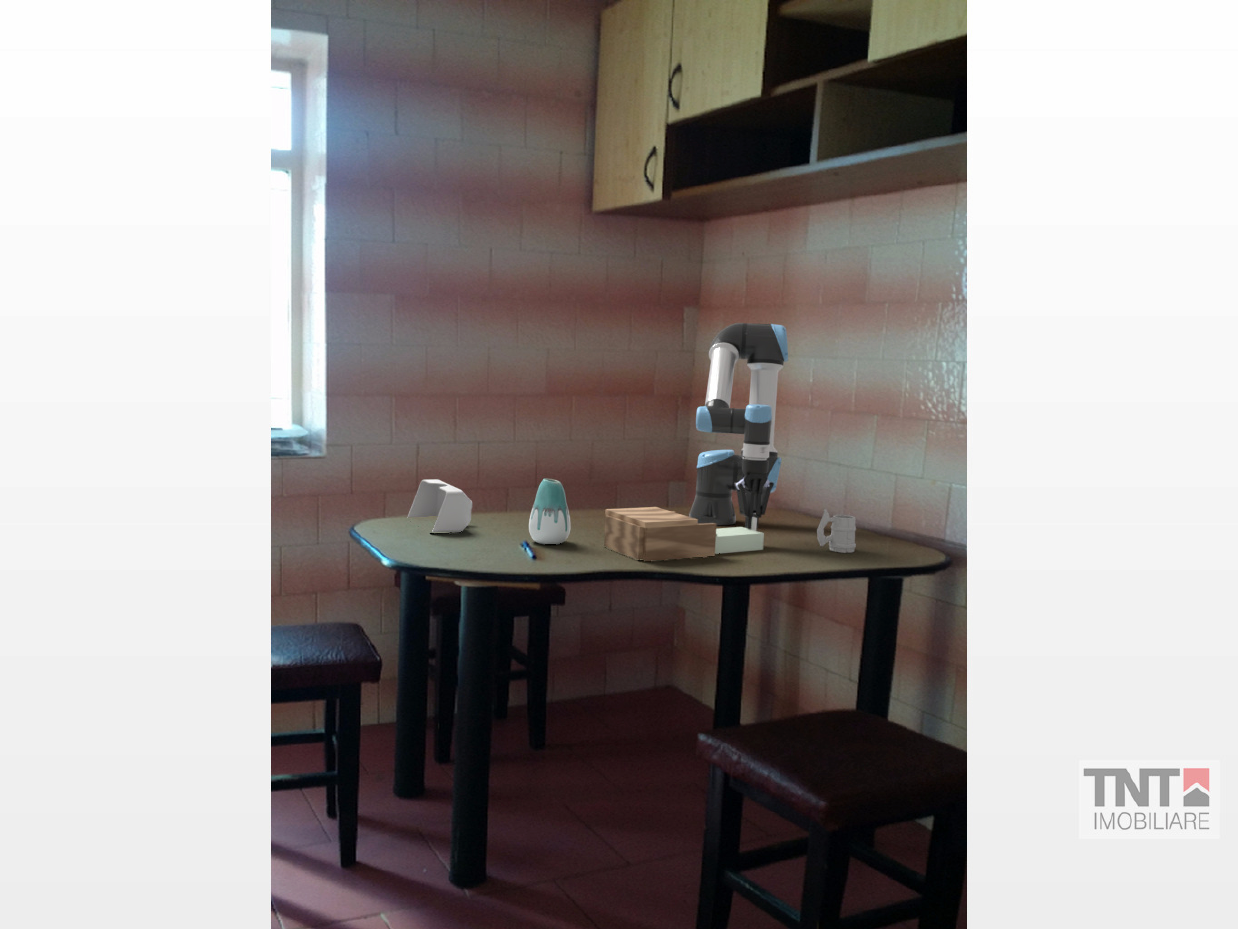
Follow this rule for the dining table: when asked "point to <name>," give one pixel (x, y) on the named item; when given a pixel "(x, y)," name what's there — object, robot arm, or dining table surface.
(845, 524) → the mug
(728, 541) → the pale green block
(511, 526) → the dining table surface
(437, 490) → the white angular cover
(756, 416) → the robot arm
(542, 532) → the vase
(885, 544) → the dining table surface
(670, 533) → the wooden box
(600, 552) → the dining table surface
